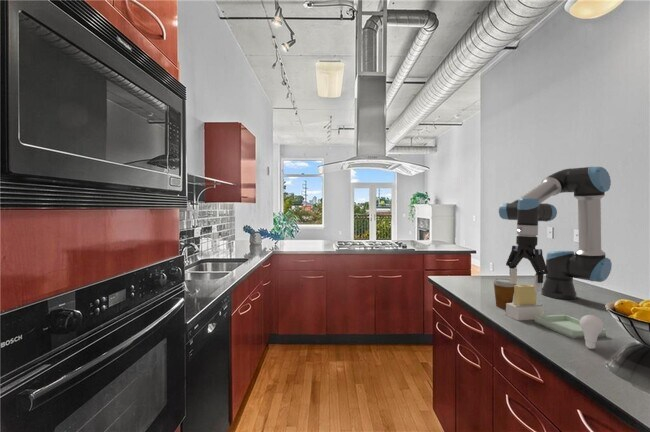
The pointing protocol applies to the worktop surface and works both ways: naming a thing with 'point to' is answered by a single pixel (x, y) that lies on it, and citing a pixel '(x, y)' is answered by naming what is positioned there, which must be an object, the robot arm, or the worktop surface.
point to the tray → (564, 325)
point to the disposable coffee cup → (503, 292)
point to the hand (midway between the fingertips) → (524, 287)
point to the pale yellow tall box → (524, 295)
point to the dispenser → (524, 311)
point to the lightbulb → (591, 329)
